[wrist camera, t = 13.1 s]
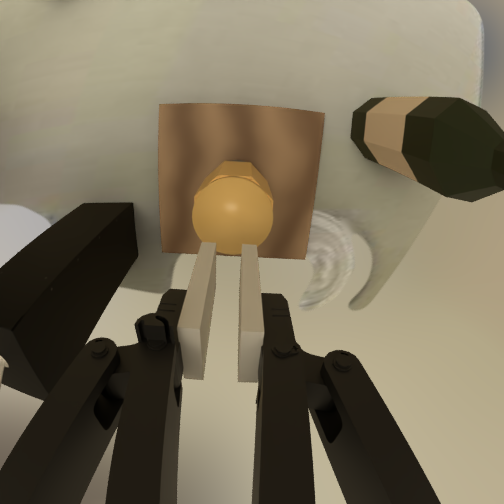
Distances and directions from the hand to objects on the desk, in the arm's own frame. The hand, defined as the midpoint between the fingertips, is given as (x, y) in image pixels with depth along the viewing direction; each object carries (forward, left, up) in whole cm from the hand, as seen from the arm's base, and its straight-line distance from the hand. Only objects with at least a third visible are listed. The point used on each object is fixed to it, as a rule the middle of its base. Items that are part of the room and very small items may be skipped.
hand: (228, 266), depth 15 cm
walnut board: (0, 0, -20) cm, 20 cm away
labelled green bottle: (+17, +8, -21) cm, 28 cm away
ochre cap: (0, 0, -15) cm, 15 cm away
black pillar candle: (-17, -7, -21) cm, 28 cm away
